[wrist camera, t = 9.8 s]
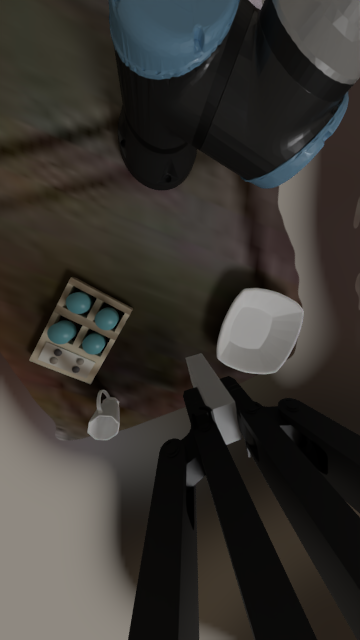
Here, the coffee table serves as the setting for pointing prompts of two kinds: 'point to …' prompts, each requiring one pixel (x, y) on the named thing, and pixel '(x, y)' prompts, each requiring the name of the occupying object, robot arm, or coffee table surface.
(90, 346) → the button
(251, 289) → the bowl
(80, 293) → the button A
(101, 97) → the coffee table surface
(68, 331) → the button
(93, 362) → the board
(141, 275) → the coffee table surface
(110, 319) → the button
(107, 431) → the cup
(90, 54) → the coffee table surface
